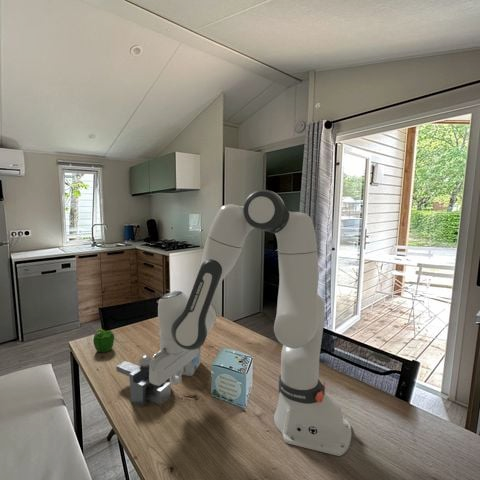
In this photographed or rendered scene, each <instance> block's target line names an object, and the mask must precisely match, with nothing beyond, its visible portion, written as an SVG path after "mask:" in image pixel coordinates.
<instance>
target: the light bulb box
mask: <svg viewBox="0 0 480 480" xmlns="http://www.w3.org/2000/svg"><path fill="white" fill-rule="evenodd" d="M201 353H202V346H201V347H199V348H198V354H197V356H196V357H195V358H194V359H193V360H191V361H190V362H189V363H188V364H186V365H185V366H184V367H183V372H182V375H181V376H189V377H192V376H193V375H194V374H195V373H196V371H197V369H198V368H199V366H200V364H201V363H202V357H201V356H202V354H201Z"/></svg>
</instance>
